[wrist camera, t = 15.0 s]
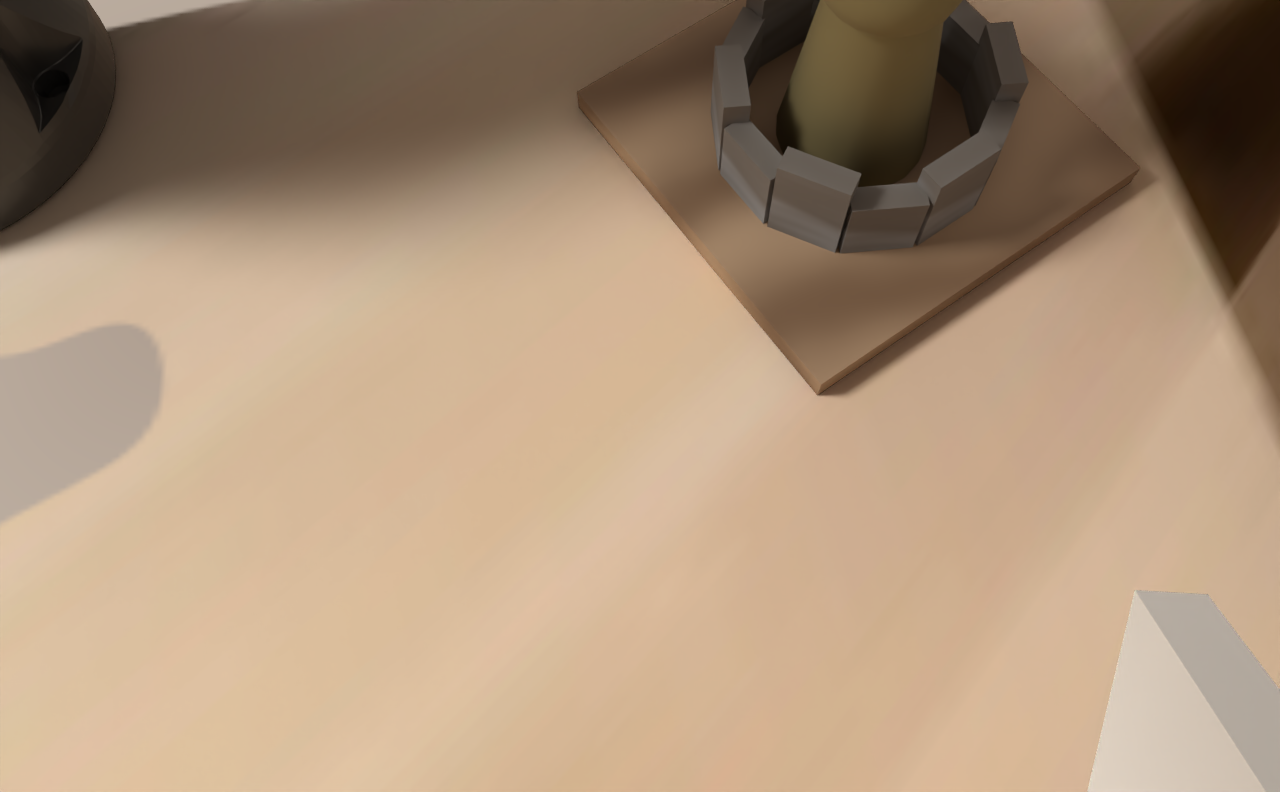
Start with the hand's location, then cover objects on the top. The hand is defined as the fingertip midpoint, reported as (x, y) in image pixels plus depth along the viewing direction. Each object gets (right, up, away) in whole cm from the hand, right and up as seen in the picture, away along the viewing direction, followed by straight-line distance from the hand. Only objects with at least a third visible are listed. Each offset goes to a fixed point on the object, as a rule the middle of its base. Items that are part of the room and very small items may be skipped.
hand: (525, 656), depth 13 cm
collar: (+10, +13, +33) cm, 37 cm away
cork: (+10, +14, +33) cm, 37 cm away
